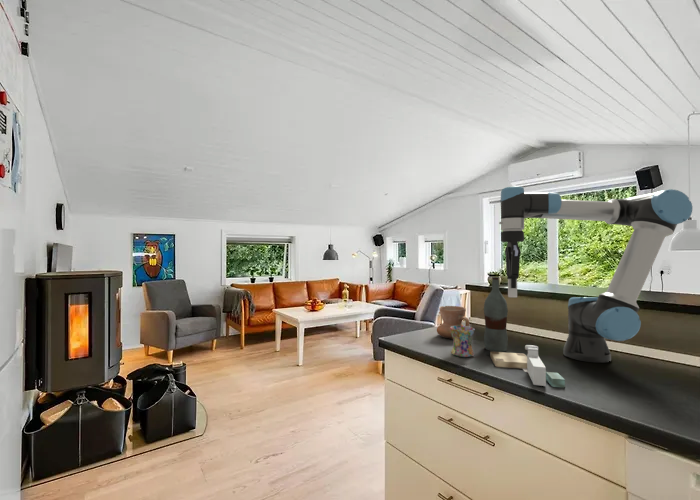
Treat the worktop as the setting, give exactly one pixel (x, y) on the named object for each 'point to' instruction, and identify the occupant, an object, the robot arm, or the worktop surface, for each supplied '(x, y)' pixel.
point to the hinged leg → (535, 366)
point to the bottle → (495, 319)
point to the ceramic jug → (451, 319)
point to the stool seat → (523, 366)
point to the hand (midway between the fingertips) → (512, 297)
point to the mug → (462, 341)
